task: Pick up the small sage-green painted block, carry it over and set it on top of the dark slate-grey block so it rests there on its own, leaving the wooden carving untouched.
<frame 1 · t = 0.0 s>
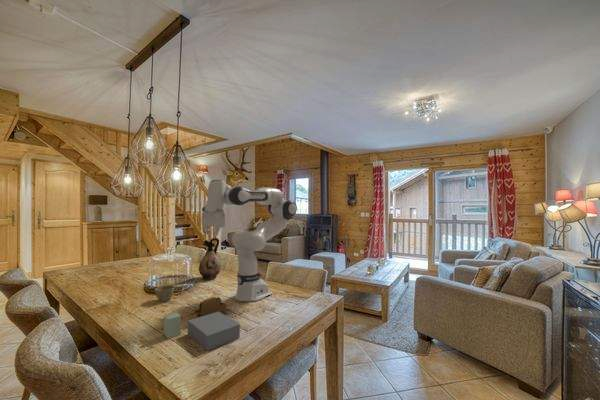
hand: (211, 234, 141), 39 cm above the table, tool pointing down, fingers open, 8 cm apart
sage block: (172, 334, 111), on the table
ceramic jug: (210, 278, 196), on the table
wooden carving: (210, 318, 127), on the table
slate block: (213, 336, 110), on the table
flower pot: (164, 300, 150), on the table
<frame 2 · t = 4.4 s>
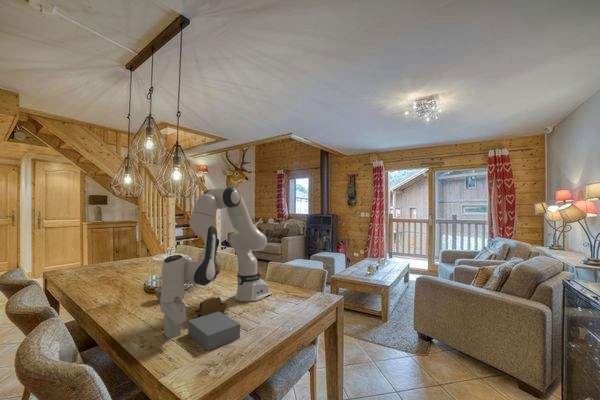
hand: (172, 327, 111), 3 cm above the table, tool pointing down, fingers closed on sage block, 5 cm apart
sage block: (172, 334, 111), on the table, touching gripper
everything else where it was.
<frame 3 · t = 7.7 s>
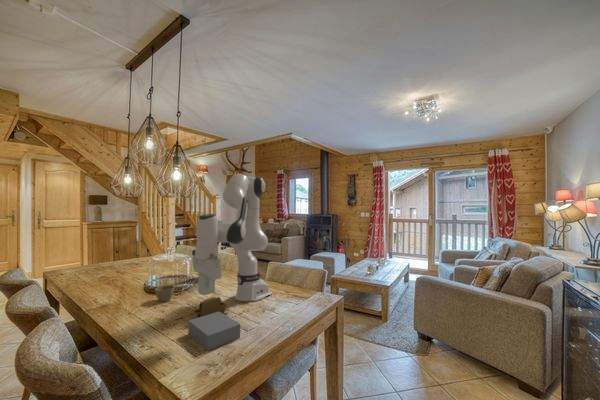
hand: (206, 285, 111), 21 cm above the table, tool pointing down, fingers closed on sage block, 5 cm apart
sage block: (206, 292, 111), point 18 cm above the table, touching gripper
everything else where it was.
when the fingers open (11 cm above the table, at t = 10.8 s): sage block drops 2 cm, resting on slate block.
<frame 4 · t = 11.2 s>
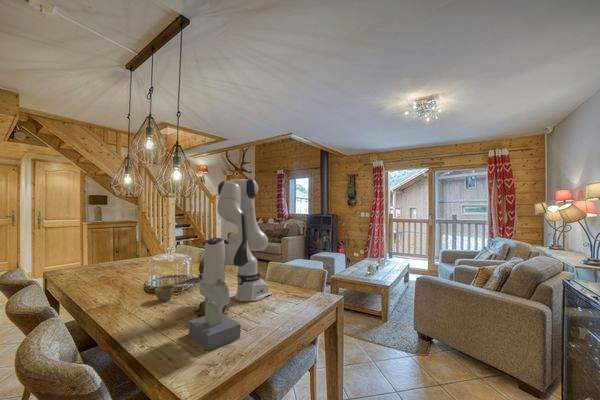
hand: (213, 310, 111), 11 cm above the table, tool pointing down, fingers open, 8 cm apart
sage block: (213, 322, 111), point 6 cm above the table, touching slate block
slate block: (214, 336, 111), on the table, touching sage block
everything else where it was.
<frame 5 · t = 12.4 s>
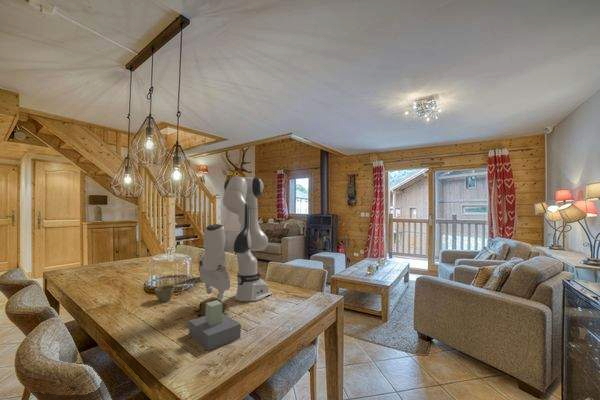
hand: (214, 296, 111), 16 cm above the table, tool pointing down, fingers open, 8 cm apart
nothing on the table moved.
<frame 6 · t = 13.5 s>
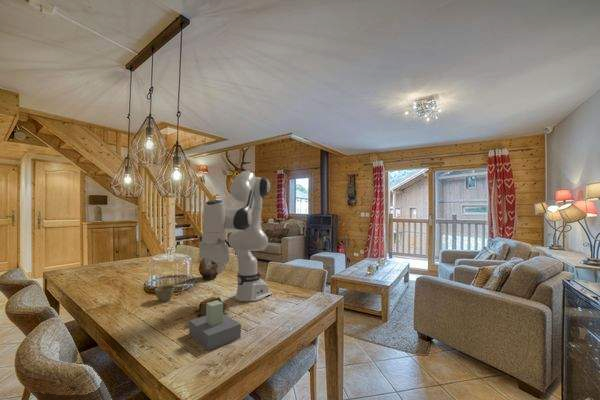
hand: (213, 271, 112), 27 cm above the table, tool pointing down, fingers open, 8 cm apart
sage block: (214, 322, 111), point 6 cm above the table
slate block: (214, 336, 111), on the table
everything else where it was.
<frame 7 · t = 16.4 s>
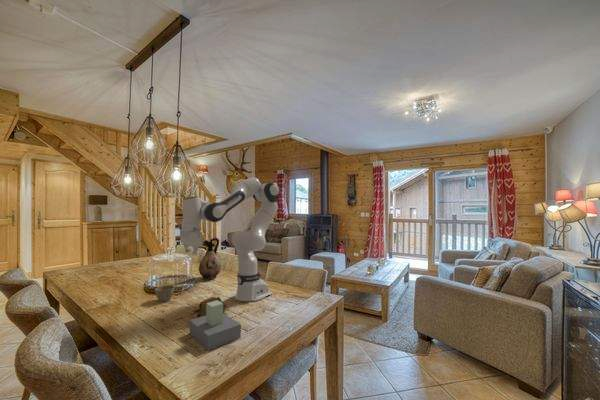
hand: (190, 253, 138), 29 cm above the table, tool pointing down, fingers open, 8 cm apart
nothing on the table moved.
at the end: sage block inside the target area on the slate block (0.4 cm from its centre), point 6.0 cm above the slate block's base; sage block tilted 0°; the gripper is holding nothing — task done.
